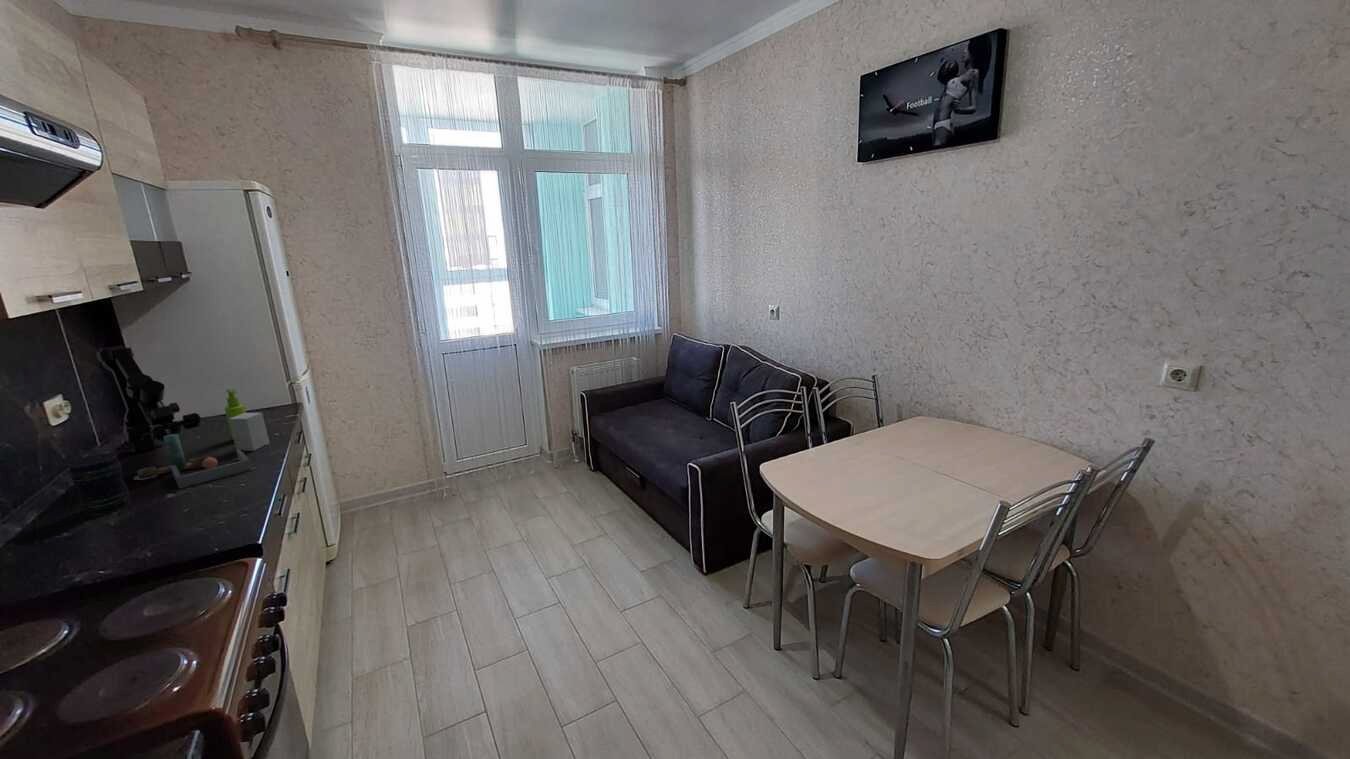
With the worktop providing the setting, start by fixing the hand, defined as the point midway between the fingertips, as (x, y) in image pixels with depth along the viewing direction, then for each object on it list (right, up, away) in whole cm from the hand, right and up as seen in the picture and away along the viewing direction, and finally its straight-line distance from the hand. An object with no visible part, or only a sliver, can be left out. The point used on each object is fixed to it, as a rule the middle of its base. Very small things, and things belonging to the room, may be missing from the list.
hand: (175, 446), depth 181 cm
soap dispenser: (0, -1, +29) cm, 29 cm away
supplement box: (+11, -3, +20) cm, 23 cm away
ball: (+11, -6, 0) cm, 13 cm away
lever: (+1, -8, 0) cm, 8 cm away
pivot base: (-5, -9, -4) cm, 11 cm away
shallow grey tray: (+14, -8, -2) cm, 17 cm away
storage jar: (+3, -15, -24) cm, 29 cm away
